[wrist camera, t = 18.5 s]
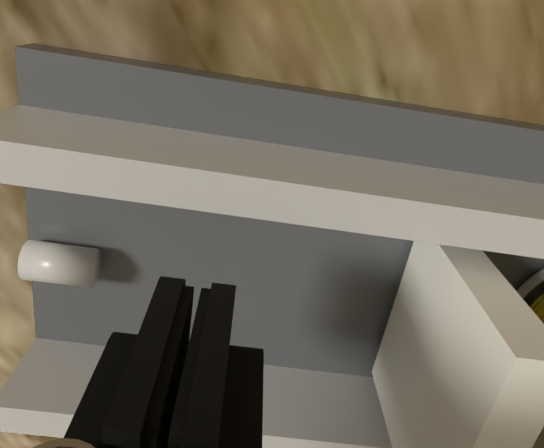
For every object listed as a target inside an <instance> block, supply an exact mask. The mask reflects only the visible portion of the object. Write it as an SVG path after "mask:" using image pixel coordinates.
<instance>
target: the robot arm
mask: <svg viewBox="0 0 544 448" xmlns="http://www.w3.org/2000/svg"><path fill="white" fill-rule="evenodd" d="M235 293H236V285H229V284H221V283H213V282H212V286H211V289H208V288H201V292H200V297H199V301H198V305H197V310H196V314H195V319H194V323H193V328H192V332H191V336H190V328H191V318H192V307H193V296H194V287H192V286H186V280H185V279H181V278H173V277H165V276H160V278H159V280H158V283H157V285H156V288H155V290H154V293H153V296H152V298H151V301H150V304H149V306H148V309H147V312H146V314H145V317H144V320H143V322H142V325H141V327H140V330H139V333H138V334H129V333H121V332H113V333H112V334H111V336H110V337H109V339H108V341H107V344H106V346H105V348H104V350H103V352H102V355H101V357H100V359H99V361H98V363H97V366H96V368H95V370H94V372H93V374H92V377H91V379H90V381H89V383H88V385H87V388H86V390H85V392H84V394H83V396H82V398H81V401H80V403H79V405H78V407H77V409H76V412H75V414H74V416H73V418H72V420H71V423H70V425H69V427H68V429H67V431H66V434H65V436H64V438H63V439H56V440H50V441H47V442H45V443H42V444H40V445H37V446H35V447H33V448H262V429H263V371H264V351H263V349H260V348H251V347H242V346H234V345H230V337H231V328H232V319H233V310H234V302H235ZM189 339H190V341H189Z"/></svg>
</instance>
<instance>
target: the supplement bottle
mask: <svg viewBox="0 0 544 448" xmlns="http://www.w3.org/2000/svg"><path fill="white" fill-rule="evenodd" d="M517 293H518V294H519V295H520V296H521V297H522V299H523V300H524V301H525V302H526V303H527V305H528V306H529V307H530V308H531V309H532V310H533V312H534V313H535V314H536V315H537V316H538V318H539V319H540V320H541V321H542V322H543V324H544V269H542V270H540V271H539V272H537V273H536V274H534V275H533V276H532V277H530V278H529V279H528V280H527V281H526V282H525V283H524V284H522V285H521V286H520V288H519V289H518V290H517Z"/></svg>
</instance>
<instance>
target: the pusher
mask: <svg viewBox="0 0 544 448" xmlns="http://www.w3.org/2000/svg"><path fill="white" fill-rule="evenodd" d="M372 375H373V379H374V383H375V386H376V390H377V394H378V397H379V401H380V405H381V408H382V412H383V416H384V419H385V423H386V427H387V430H388V434H389V437H390V441H391V445H392V448H532V446H533V445H534V443H535V441H536V439H537V438H538V436H539V434H540V432H541V430H542V429H543V427H544V324H543V322H542V321H541V320H540V319H539V318H538V316H537V315H536V314H535V313H534V312H533V310H532V309H531V308H530V307H529V306H528V305H527V303H526V302H525V301H524V300H523V299H522V297H521V296H520V295H519V294H518V293H517V291H516V290H515V289H514V288H513V287H512V285H511V284H510V283H509V282H508V281H507V279H506V278H505V277H504V276H503V275H502V274H501V272H500V271H499V270H498V269H497V268H496V266H495V265H494V264H493V263H492V262H491V260H490V259H489V258H488V257H487V256H486V254H485V253H484V252H483V251H482V250H476V249H469V248H461V247H454V246H447V245H440V244H433V243H426V242H418V241H414V242H413V245H412V248H411V252H410V255H409V258H408V261H407V264H406V267H405V270H404V273H403V276H402V279H401V283H400V286H399V289H398V292H397V295H396V298H395V301H394V304H393V307H392V310H391V314H390V317H389V320H388V323H387V326H386V329H385V332H384V335H383V338H382V341H381V345H380V348H379V351H378V354H377V357H376V360H375V363H374V366H373V369H372Z"/></svg>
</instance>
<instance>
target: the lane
mask: <svg viewBox="0 0 544 448" xmlns="http://www.w3.org/2000/svg"><path fill="white" fill-rule="evenodd" d="M15 55H16V68H17V82H18V96H19V105H18V106H15V107H13V108H11V109H8V110H6V111H4V112H1V113H0V183H3V184H10V185H17V186H24V187H25V193H26V207H27V221H28V234H29V240H28V241H27V242H26V243H25V244H24V245H23V247H22V249H21V252H20V255H19V259H18V274H19V277H20V278H21V279H23V280H30V281H32V290H33V304H34V317H35V331H36V339H35V340H34V341H33V343H32V344H31V346H30V347H29V349H28V350H27V352H26V353H25V355H24V356H23V358H22V359H21V361H20V362H19V363H18V365H17V366H16V368H15V369H14V371H13V372H12V374H11V375H10V377H9V378H8V380H7V381H6V383H5V384H4V385H3V387H2V388H1V390H0V431H1V432H10V433H20V434H30V435H40V436H49V437H59V438H64V436H65V434H66V431H67V429H68V427H69V425H70V423H71V420H72V418H73V416H74V414H75V412H76V409H77V407H78V405H79V403H80V401H81V398H82V396H83V394H84V392H85V390H86V388H87V385H88V383H89V381H90V379H91V377H92V374H93V372H94V370H95V368H96V366H97V363H98V361H99V359H100V357H101V355H102V352H103V350H104V348H105V346H106V344H107V341H108V339H109V337H110V336H111V334H112V333H113V332H121V333H129V334H138V333H139V330H140V327H141V325H142V322H143V320H144V317H145V314H146V312H147V309H148V306H149V304H150V301H151V298H152V296H153V293H154V290H155V288H156V285H157V283H158V280H159V278H160V276H165V277H173V278H181V279H185V280H186V286H192V287H194V296H193V307H192V318H191V328H190V336H191V332H192V328H193V323H194V319H195V314H196V310H197V305H198V301H199V297H200V292H201V288H208V289H211V286H212V282H213V283H221V284H229V285H236V293H235V302H234V310H233V319H232V328H231V337H230V345H234V346H242V347H251V348H260V349H263V351H264V371H263V429H262V448H392V445H391V441H390V437H389V434H388V430H387V427H386V423H385V419H384V416H383V412H382V408H381V405H380V401H379V397H378V394H377V390H376V386H375V383H374V379H373V375H372V369H373V366H374V363H375V360H376V357H377V354H378V351H379V348H380V345H381V341H382V338H383V335H384V332H385V329H386V326H387V323H388V320H389V317H390V314H391V310H392V307H393V304H394V301H395V298H396V295H397V292H398V289H399V286H400V283H401V279H402V276H403V273H404V270H405V267H406V264H407V261H408V258H409V255H410V252H411V248H412V245H413V242H414V241H418V242H426V243H433V244H440V245H447V246H454V247H461V248H469V249H476V250H482V251H483V252H484V253H485V254H486V256H487V257H488V258H489V259H490V260H491V262H492V263H493V264H494V265H495V266H496V268H497V269H498V270H499V271H500V272H501V274H502V275H503V276H504V277H505V278H506V279H507V281H508V282H509V283H510V284H511V285H512V287H513V288H514V289H515V290H516V291H517V290H518V289H519V288H520V286H521V285H522V284H524V283H525V282H526V281H527V280H528V279H529V278H530V277H532V276H533V275H534V274H536V273H537V272H539V271H540V270H542V269H544V125H538V124H532V123H526V122H519V121H513V120H507V119H501V118H494V117H488V116H482V115H476V114H470V113H463V112H457V111H451V110H445V109H439V108H432V107H426V106H420V105H414V104H407V103H401V102H395V101H389V100H383V99H376V98H370V97H364V96H358V95H352V94H345V93H339V92H333V91H327V90H320V89H314V88H308V87H302V86H296V85H289V84H283V83H277V82H271V81H265V80H258V79H252V78H246V77H240V76H233V75H227V74H221V73H215V72H209V71H202V70H196V69H190V68H184V67H178V66H171V65H165V64H159V63H153V62H146V61H140V60H134V59H128V58H122V57H115V56H109V55H103V54H97V53H91V52H84V51H78V50H72V49H66V48H59V47H53V46H47V45H41V44H35V43H31V44H26V45H20V46H15ZM189 341H190V339H189ZM532 448H544V427H543V429H542V430H541V432H540V434H539V436H538V438H537V439H536V441H535V443H534V445H533V446H532Z"/></svg>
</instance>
